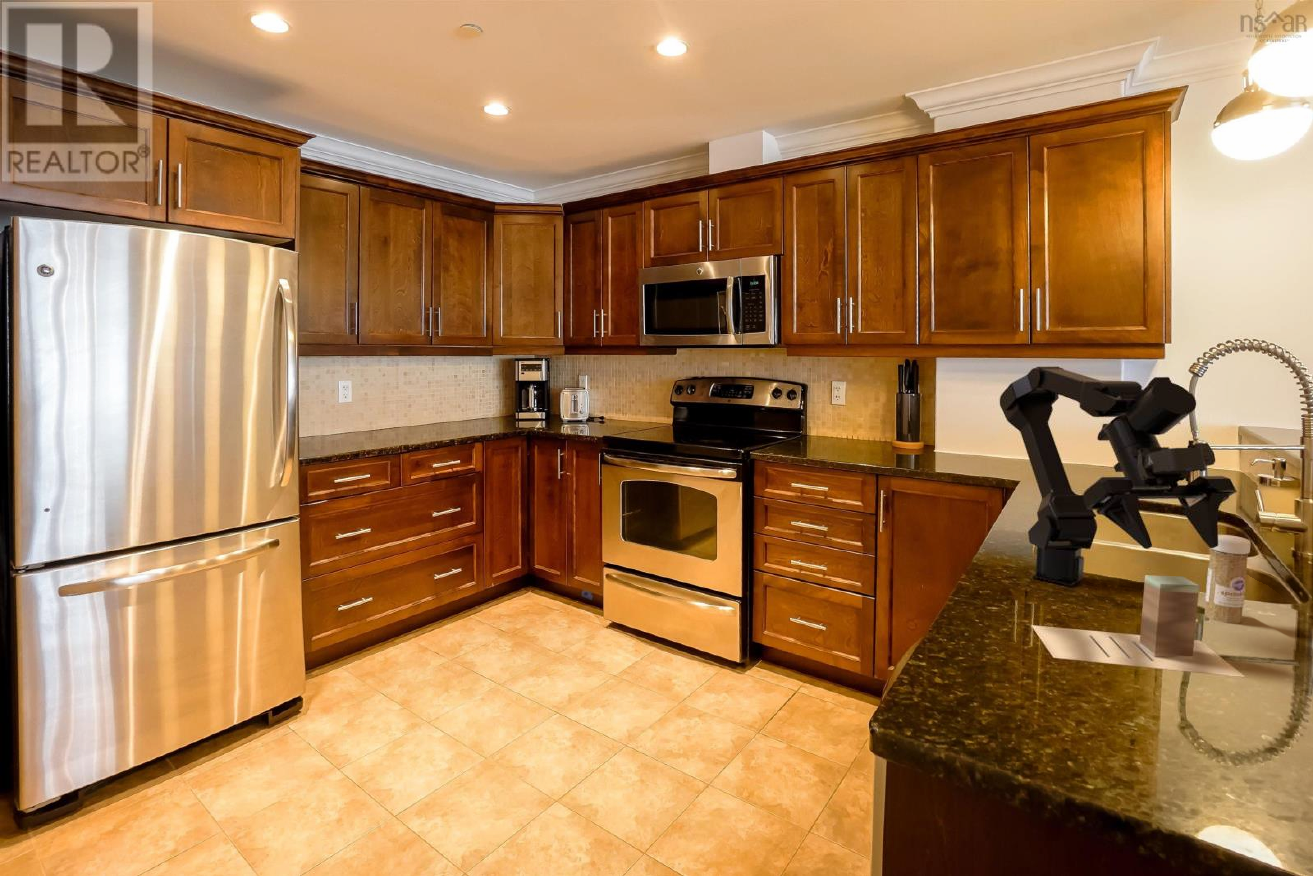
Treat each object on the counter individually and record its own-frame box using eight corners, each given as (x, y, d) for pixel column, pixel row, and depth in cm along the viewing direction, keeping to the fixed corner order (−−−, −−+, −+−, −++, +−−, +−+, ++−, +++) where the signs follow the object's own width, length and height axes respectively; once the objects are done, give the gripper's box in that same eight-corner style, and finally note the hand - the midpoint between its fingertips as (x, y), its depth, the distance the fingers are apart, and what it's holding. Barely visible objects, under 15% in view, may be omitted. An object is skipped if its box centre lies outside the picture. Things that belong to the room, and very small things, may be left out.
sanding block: (1154, 657, 87) (1160, 583, 85) (1139, 645, 90) (1145, 575, 89) (1192, 659, 86) (1199, 585, 85) (1175, 647, 89) (1182, 576, 88)
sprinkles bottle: (1228, 631, 97) (1237, 542, 95) (1195, 620, 101) (1202, 535, 99) (1249, 627, 98) (1258, 540, 96) (1216, 616, 102) (1224, 532, 101)
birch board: (1053, 664, 87) (1053, 657, 87) (1031, 631, 97) (1031, 625, 97) (1244, 685, 81) (1245, 677, 81) (1199, 647, 92) (1200, 640, 91)
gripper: (1107, 423, 93) (1152, 524, 85) (1238, 421, 93) (1295, 523, 85) (1065, 461, 103) (1102, 556, 94) (1185, 460, 103) (1231, 555, 94)
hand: (1181, 547), depth 92 cm, fingers open, 9 cm apart
